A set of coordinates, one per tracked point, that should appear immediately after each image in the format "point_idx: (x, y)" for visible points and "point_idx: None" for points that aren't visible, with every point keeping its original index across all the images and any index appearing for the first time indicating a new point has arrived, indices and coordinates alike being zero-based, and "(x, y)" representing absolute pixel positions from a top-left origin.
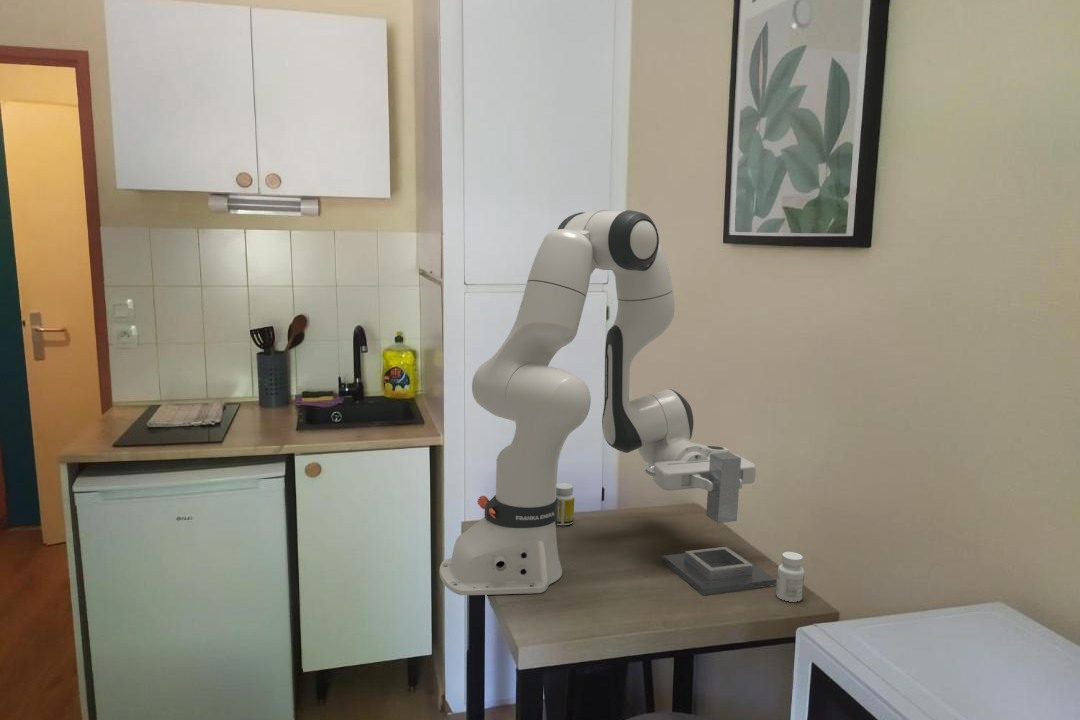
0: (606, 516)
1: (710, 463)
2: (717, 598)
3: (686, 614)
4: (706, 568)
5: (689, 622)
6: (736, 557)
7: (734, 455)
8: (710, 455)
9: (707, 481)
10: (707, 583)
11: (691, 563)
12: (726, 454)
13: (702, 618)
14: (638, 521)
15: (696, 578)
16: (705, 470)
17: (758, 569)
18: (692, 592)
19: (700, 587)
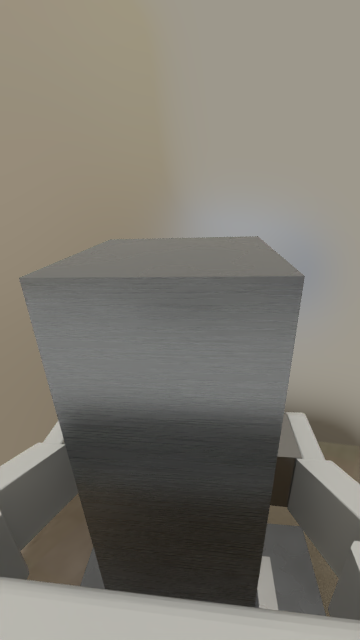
0: None
1: (281, 378)
2: (269, 513)
3: (355, 477)
4: (273, 584)
5: (353, 453)
6: None
7: (95, 250)
8: (297, 296)
9: (312, 432)
10: (281, 553)
11: None
12: (133, 257)
13: (326, 457)
14: None
15: (304, 600)
16: (269, 615)
17: (88, 584)
18: (323, 565)
19: (305, 544)
